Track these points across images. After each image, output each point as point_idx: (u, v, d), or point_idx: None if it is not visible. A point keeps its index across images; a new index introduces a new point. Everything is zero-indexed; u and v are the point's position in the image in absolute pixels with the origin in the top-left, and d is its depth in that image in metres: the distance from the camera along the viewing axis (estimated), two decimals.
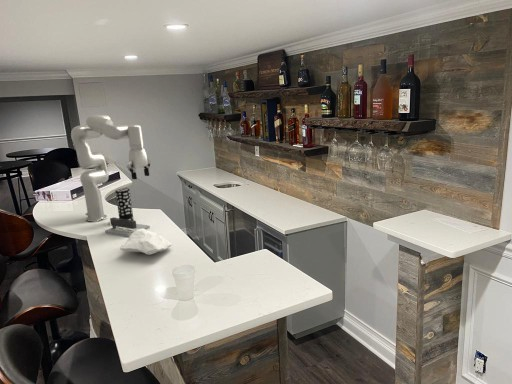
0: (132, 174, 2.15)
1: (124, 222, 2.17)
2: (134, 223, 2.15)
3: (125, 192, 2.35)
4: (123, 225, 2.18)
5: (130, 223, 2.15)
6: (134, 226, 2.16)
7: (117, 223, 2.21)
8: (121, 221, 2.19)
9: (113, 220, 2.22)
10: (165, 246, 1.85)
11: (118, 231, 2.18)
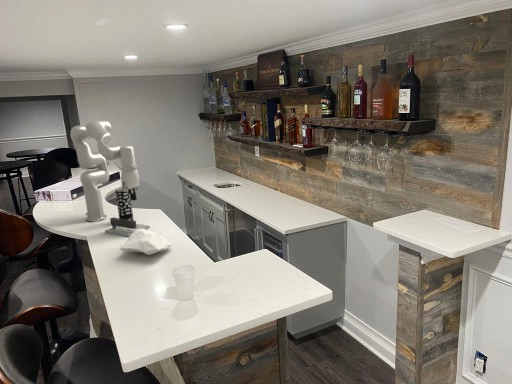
0: (130, 195, 2.19)
1: (124, 222, 2.17)
2: (134, 223, 2.15)
3: (125, 192, 2.35)
4: (123, 225, 2.18)
5: (130, 223, 2.15)
6: (134, 226, 2.16)
7: (117, 223, 2.21)
8: (121, 221, 2.19)
9: (113, 220, 2.22)
10: (165, 246, 1.85)
11: (118, 231, 2.18)
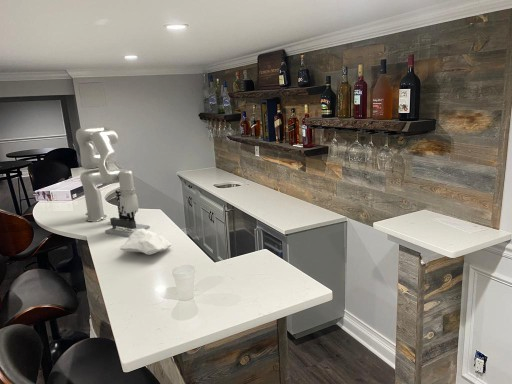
0: (129, 219, 2.19)
1: (124, 222, 2.17)
2: (134, 223, 2.15)
3: None
4: (123, 225, 2.18)
5: (130, 223, 2.15)
6: (134, 226, 2.15)
7: (117, 223, 2.20)
8: (120, 221, 2.18)
9: (113, 220, 2.22)
10: (165, 246, 1.85)
11: (118, 231, 2.18)
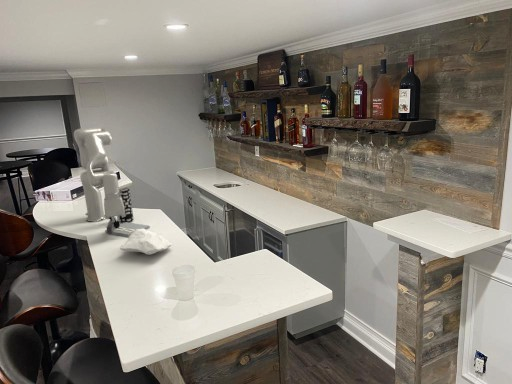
0: None
1: None
2: (109, 229, 2.07)
3: (125, 192, 2.35)
4: None
5: (107, 228, 2.09)
6: (109, 232, 2.08)
7: None
8: (108, 223, 2.16)
9: None
10: (165, 246, 1.85)
11: (118, 231, 2.18)
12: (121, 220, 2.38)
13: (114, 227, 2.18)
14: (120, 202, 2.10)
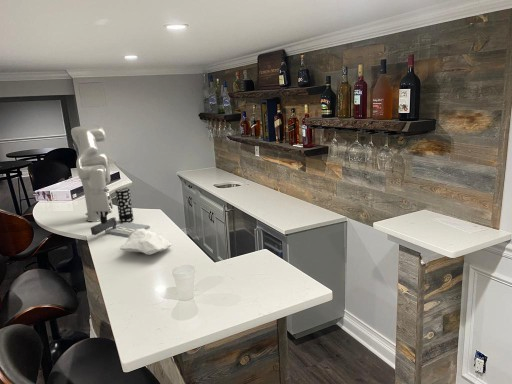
0: None
1: None
2: (92, 230, 2.08)
3: (125, 192, 2.35)
4: None
5: None
6: (93, 232, 2.08)
7: None
8: None
9: None
10: (165, 246, 1.85)
11: (118, 231, 2.18)
12: (121, 220, 2.38)
13: (107, 228, 2.18)
14: (104, 198, 2.06)
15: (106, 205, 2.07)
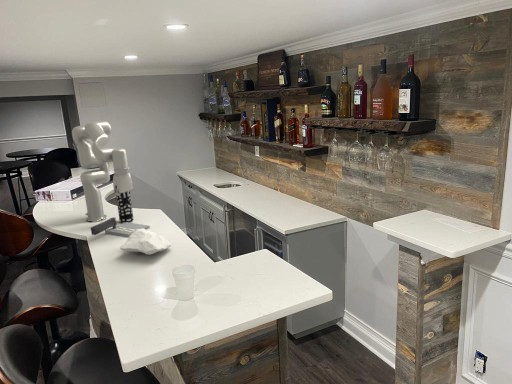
0: (123, 199, 2.13)
1: None
2: (92, 230, 2.08)
3: None
4: None
5: None
6: (93, 232, 2.08)
7: None
8: None
9: None
10: (165, 246, 1.85)
11: (118, 231, 2.18)
12: (121, 220, 2.38)
13: (107, 228, 2.18)
14: (130, 177, 2.14)
15: (131, 183, 2.15)
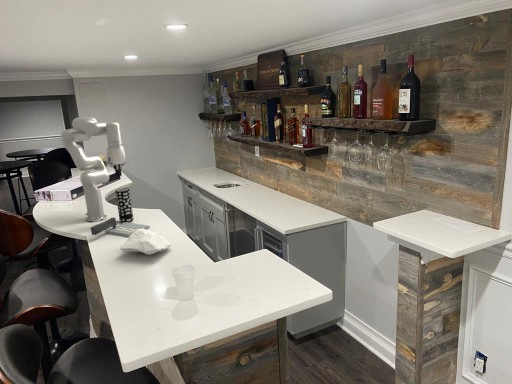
0: (116, 171, 2.23)
1: None
2: (92, 230, 2.08)
3: (125, 192, 2.35)
4: None
5: None
6: (93, 232, 2.08)
7: None
8: None
9: None
10: (165, 246, 1.85)
11: (118, 231, 2.18)
12: (121, 220, 2.38)
13: (107, 228, 2.18)
14: (123, 150, 2.23)
15: (124, 156, 2.25)
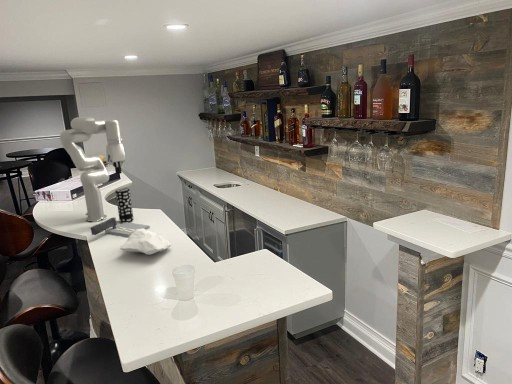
0: (116, 169, 2.24)
1: None
2: (92, 230, 2.08)
3: (125, 192, 2.35)
4: None
5: None
6: (93, 232, 2.08)
7: None
8: None
9: None
10: (165, 246, 1.85)
11: (118, 231, 2.18)
12: (121, 220, 2.38)
13: (107, 228, 2.18)
14: (122, 147, 2.24)
15: (124, 154, 2.25)
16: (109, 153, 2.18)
